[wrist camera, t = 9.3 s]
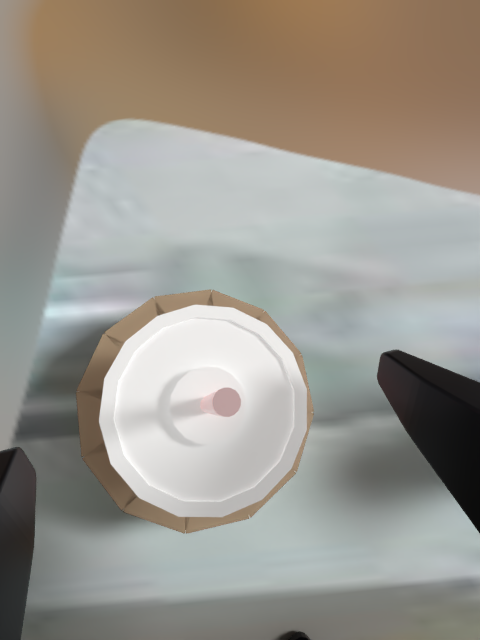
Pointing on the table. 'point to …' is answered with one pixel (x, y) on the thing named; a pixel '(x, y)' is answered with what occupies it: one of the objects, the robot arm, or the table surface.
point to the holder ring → (92, 397)
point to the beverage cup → (203, 411)
